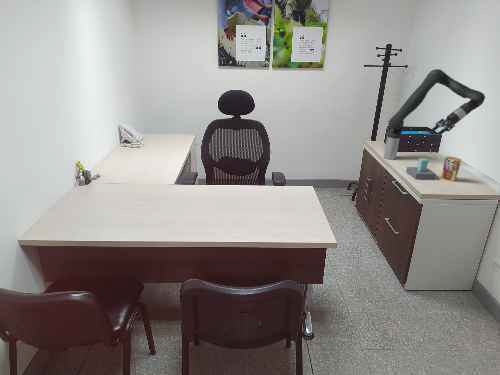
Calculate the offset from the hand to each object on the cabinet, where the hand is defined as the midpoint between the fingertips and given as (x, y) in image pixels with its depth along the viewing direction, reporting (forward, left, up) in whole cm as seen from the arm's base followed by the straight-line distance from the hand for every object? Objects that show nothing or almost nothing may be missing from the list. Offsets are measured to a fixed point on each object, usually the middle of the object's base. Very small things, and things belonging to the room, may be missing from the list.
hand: (435, 132), depth 247 cm
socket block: (+5, -7, -30) cm, 31 cm away
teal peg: (+5, -7, -29) cm, 30 cm away
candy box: (+11, +10, -30) cm, 34 cm away
